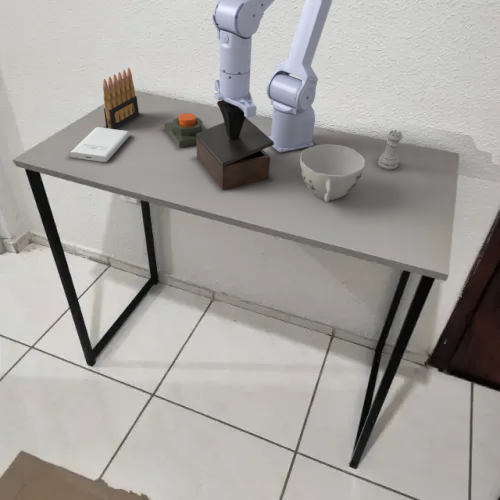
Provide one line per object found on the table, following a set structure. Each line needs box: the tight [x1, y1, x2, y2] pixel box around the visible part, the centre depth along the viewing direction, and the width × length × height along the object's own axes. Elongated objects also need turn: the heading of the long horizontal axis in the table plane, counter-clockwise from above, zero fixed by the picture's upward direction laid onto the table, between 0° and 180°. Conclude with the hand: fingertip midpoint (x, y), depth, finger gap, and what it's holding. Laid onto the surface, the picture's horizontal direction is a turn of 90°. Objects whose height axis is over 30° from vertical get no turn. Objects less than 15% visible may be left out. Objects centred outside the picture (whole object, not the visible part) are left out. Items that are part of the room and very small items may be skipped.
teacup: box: [299, 143, 366, 203], centre depth 92 cm, size 15×12×8 cm
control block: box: [164, 116, 207, 149], centre depth 111 cm, size 10×8×4 cm
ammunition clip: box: [102, 67, 140, 130], centre depth 112 cm, size 11×2×12 cm, turn 154°
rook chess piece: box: [377, 129, 403, 171], centre depth 103 cm, size 4×4×8 cm
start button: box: [178, 112, 197, 127], centre depth 109 cm, size 4×4×2 cm
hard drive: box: [69, 126, 130, 163], centre depth 105 cm, size 2×8×12 cm
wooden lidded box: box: [196, 137, 271, 191], centre depth 99 cm, size 11×14×5 cm
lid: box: [196, 117, 274, 166], centre depth 97 cm, size 11×14×1 cm
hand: (233, 136), depth 96 cm, fingers closed, pressing on lid
